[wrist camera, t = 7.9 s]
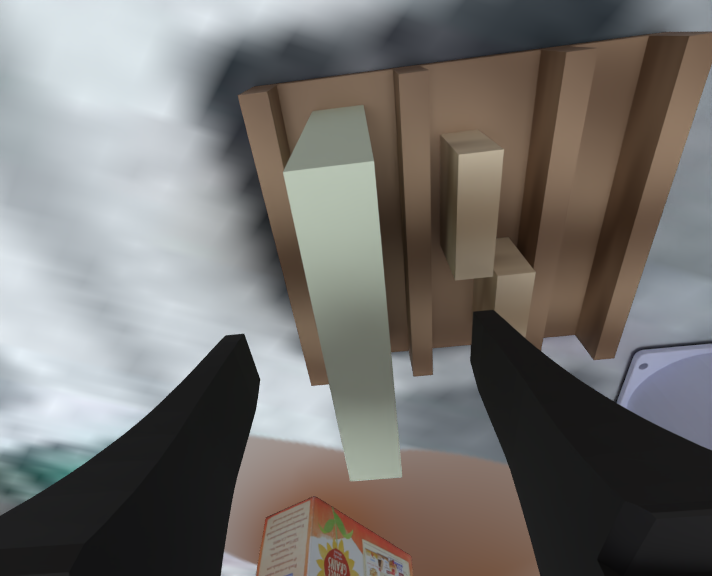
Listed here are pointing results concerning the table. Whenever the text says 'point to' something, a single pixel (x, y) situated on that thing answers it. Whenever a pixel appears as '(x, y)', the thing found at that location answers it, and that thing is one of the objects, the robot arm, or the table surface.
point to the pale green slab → (347, 282)
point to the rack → (503, 178)
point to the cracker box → (325, 545)
